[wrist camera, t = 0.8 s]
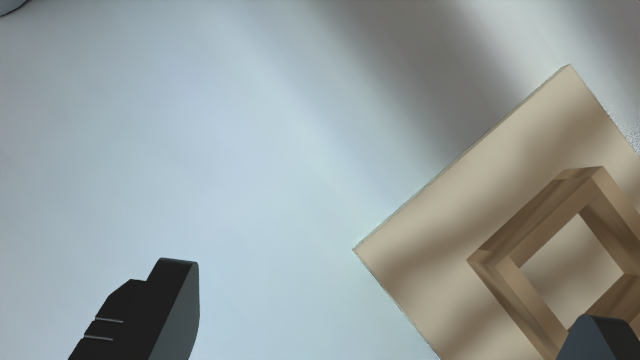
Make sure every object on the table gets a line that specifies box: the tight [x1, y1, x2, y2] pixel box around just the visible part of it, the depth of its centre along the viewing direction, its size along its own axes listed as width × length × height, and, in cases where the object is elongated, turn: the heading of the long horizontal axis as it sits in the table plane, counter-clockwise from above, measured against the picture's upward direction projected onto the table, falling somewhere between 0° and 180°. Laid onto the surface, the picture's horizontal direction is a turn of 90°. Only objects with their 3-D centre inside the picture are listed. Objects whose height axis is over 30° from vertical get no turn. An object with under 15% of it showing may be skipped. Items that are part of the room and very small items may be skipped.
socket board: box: [352, 64, 640, 360], centre depth 35 cm, size 22×22×5 cm
